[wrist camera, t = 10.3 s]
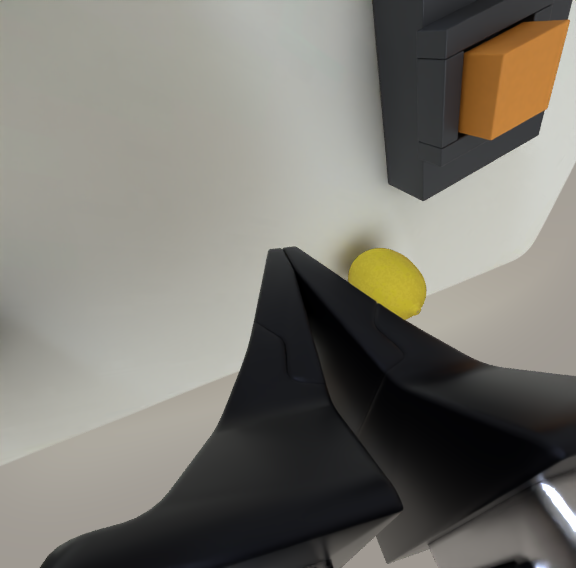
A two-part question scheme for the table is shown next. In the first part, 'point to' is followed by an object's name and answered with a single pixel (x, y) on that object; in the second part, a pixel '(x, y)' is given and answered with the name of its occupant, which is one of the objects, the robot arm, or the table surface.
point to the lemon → (389, 281)
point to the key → (510, 77)
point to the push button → (441, 85)
